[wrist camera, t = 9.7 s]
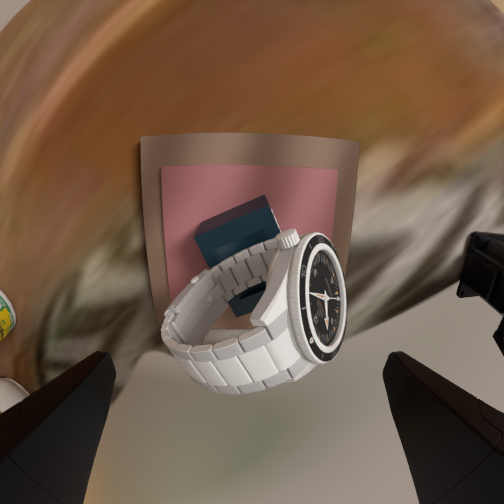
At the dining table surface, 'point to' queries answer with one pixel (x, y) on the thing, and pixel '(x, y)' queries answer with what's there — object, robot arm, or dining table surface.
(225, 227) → the watch
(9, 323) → the supplement bottle
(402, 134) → the dining table surface
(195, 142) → the pink square tray
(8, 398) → the lidded jar
